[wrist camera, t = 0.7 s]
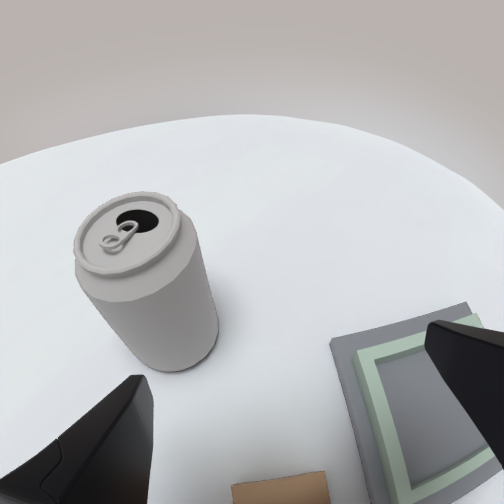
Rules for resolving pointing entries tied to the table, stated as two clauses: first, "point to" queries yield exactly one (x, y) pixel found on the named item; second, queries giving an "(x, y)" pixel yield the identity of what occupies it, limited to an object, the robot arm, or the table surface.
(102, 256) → the can
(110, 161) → the table surface
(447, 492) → the grey tray
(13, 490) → the robot arm
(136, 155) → the table surface
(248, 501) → the brown rectangular block
